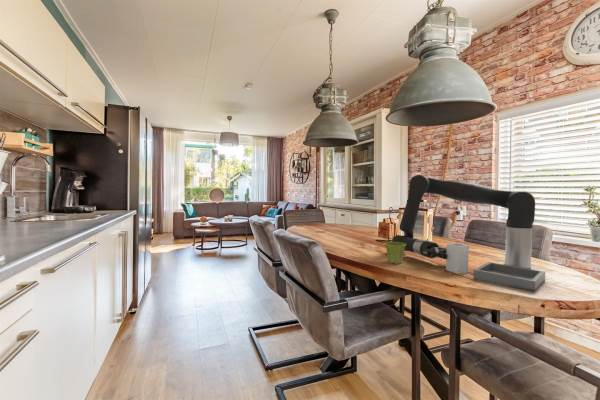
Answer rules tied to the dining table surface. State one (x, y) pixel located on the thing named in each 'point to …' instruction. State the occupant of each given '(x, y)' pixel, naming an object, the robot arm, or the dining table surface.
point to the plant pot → (395, 251)
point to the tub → (457, 258)
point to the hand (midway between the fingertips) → (454, 256)
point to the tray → (510, 276)
